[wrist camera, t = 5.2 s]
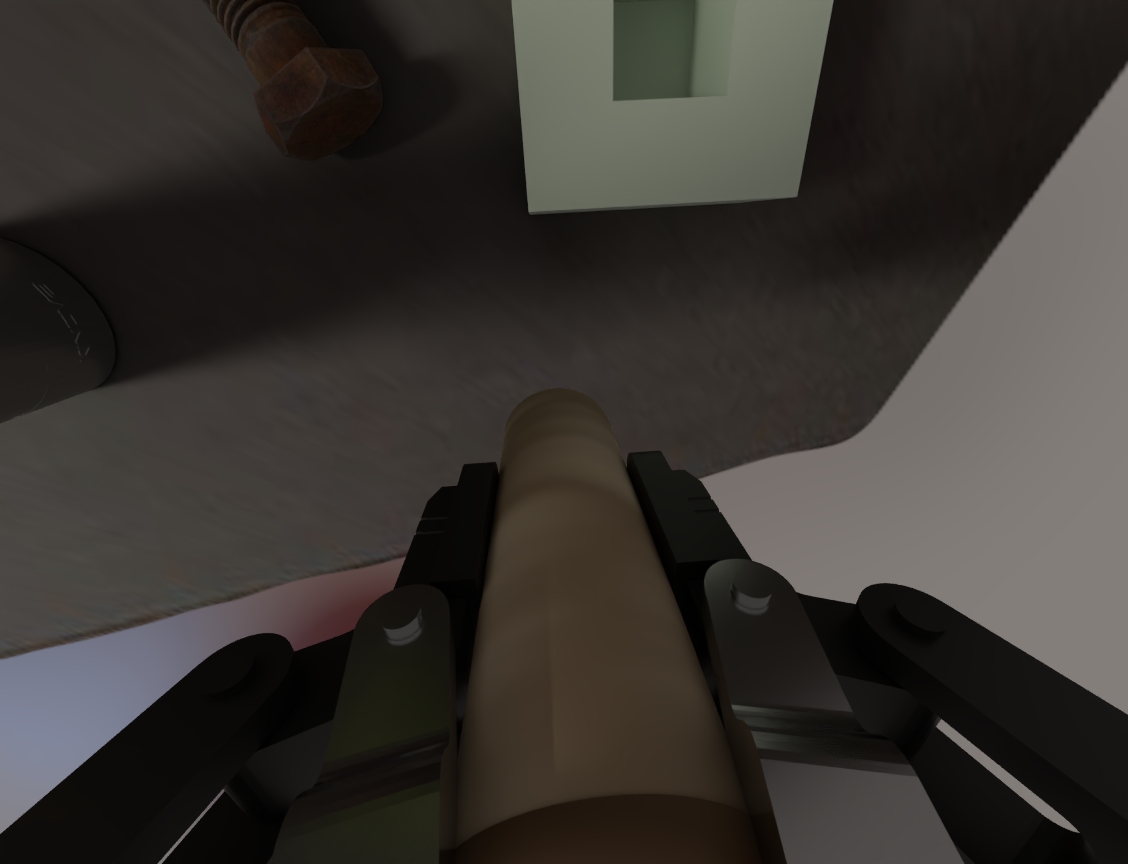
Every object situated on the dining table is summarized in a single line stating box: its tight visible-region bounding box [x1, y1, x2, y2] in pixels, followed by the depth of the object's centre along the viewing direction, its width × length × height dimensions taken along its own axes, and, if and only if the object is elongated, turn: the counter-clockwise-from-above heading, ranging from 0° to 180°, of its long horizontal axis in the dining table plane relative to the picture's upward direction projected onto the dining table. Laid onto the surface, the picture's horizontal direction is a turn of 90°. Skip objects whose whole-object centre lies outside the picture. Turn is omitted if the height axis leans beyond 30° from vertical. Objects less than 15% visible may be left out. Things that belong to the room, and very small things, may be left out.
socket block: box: [512, 0, 834, 215], centre depth 18 cm, size 12×12×6 cm
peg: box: [455, 388, 763, 864], centre depth 8 cm, size 3×3×10 cm
